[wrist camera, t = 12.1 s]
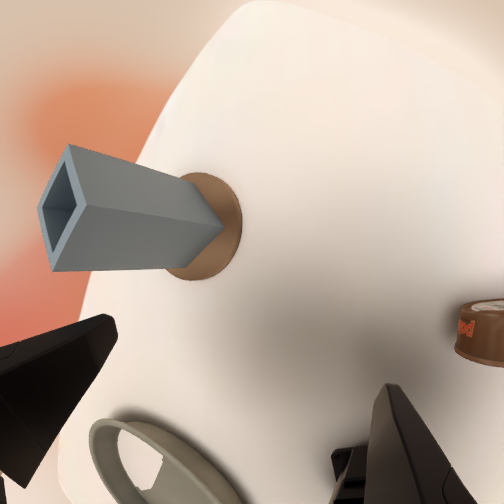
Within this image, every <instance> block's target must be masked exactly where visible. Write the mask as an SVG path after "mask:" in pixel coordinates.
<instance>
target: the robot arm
mask: <svg viewBox="0 0 504 504" xmlns="http://www.w3.org/2000/svg"><path fill="white" fill-rule="evenodd" d="M117 339H118V332H117V328H116V324H115V320H114V318H113V317H112V316H109V315H107V314H100V315H97V316H94V317H91V318H88V319H85V320H82V321H79V322H76V323H73V324H70V325H67V326H64V327H61V328H58V329H55V330H52V331H49V332H46V333H43V334H40V335H37V336H34V337H31V338H28V339H25V340H22V341H21V342H19V341H18V342H15V343H12V344H9V345H6V346H2V347H0V504H7V501H6V495H5V488H4V479H3V477H2V476H1V474H2V473H4V474H5V475H7V476H8V477H9V478H10V479H12V480H13V481H14V482H16V483H17V484H18V485H20V486H21V487H22V488H24V489H25V488H26V487H27V485H28V484H29V482H30V480H31V478H32V477H33V475H34V473H35V472H36V470H37V468H38V466H39V465H40V463H41V461H42V460H43V458H44V456H45V455H46V453H47V451H48V450H49V448H50V446H51V445H52V443H53V442H54V440H55V438H56V437H57V435H58V434H59V432H60V430H61V429H62V427H63V426H64V424H65V423H66V421H67V420H68V418H69V416H70V415H71V413H72V412H73V410H74V409H75V407H76V406H77V404H78V403H79V401H80V400H81V398H82V397H83V395H84V394H85V392H86V391H87V390H88V388H89V387H90V385H91V384H92V382H93V381H94V379H95V378H96V376H97V375H98V373H99V372H100V370H101V368H102V367H103V365H104V363H105V361H106V359H107V358H108V356H109V354H110V352H111V350H112V349H113V347H114V345H115V343H116V342H117ZM336 455H340V456H336ZM331 459H332V464H333V468H334V473H335V477H336V482H337V484H336V487H335V489H334V492H333V494H332V497H331V499H330V502H329V504H478V503H477V502H476V501H475V500H474V498H473V497H472V496H471V494H470V493H469V491H468V490H467V489H466V487H465V486H464V484H463V483H462V481H461V480H460V478H459V477H458V475H457V473H456V472H455V470H454V468H453V467H451V464H450V462H449V461H448V459H447V457H446V456H445V454H444V453H443V451H442V449H441V448H440V446H439V445H438V443H437V442H436V440H435V439H434V437H433V435H432V434H431V432H430V431H429V429H428V428H427V426H426V425H425V423H424V422H423V420H422V419H421V417H420V416H419V414H418V413H417V411H416V410H415V408H414V407H413V405H412V404H411V402H410V401H409V399H408V398H407V396H406V395H405V394H404V392H403V391H402V389H401V388H400V386H399V385H397V384H390V383H386V384H385V385H384V386H383V388H382V389H381V391H380V393H379V395H378V396H377V398H376V400H375V402H374V407H373V415H372V423H371V430H370V437H369V444H368V446H361V447H355V448H348V449H339V450H335V451H333V453H332V455H331Z"/></svg>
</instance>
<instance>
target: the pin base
mask: <svg viewBox="0 0 504 504" xmlns="http://www.w3.org/2000/svg"><path fill="white" fill-rule="evenodd" d="M180 179H183V180H186V181H189V182H192V183H194V184H195V185H196V187H197V188H198V189H199V191H200V192H201V194H202V195H203V196H204V198H205V199H206V201H207V202H208V204H209V205H210V206H211V208H212V209H213V211H214V212H215V213H216V215H217V216H218V218H219V219H220V220H221V222H222V223H223V225H224V226H225V229H224V230H223V231H222V232H221V233H220V234H219V235H218V236H217V237H216V238H215V239H214V240H213V241H212V242H211V243H210V244H209V245H208V246H207V247H206V248H205V249H204V250H203V251H202V252H201V253H200V254H199V255H198V256H197V257H196V258H195V259H194V260H193V261H192V262H191V263H190V264H189V265H188V266H187V267H186V268H171V269H166V270H167V271H168V272H169V273H171V274H172V275H174V276H175V277H178V278H180V279H183V280H190V281H191V280H202V279H206V278H209V277H212V276H214V275H215V274H217V273H219V272H220V271H221V270H222V269H224V268H225V266H226V265H227V264H228V263H229V262H230V260H231V259H232V257H233V256H234V254H235V252H236V250H237V247H238V245H239V241H240V237H241V231H242V215H241V210H240V206H239V203H238V200H237V198H236V196H235V194H234V192H233V191H232V189H231V188H230V187H229V186H228V185H227V184H226V183H225V182H223V181H222V180H220V179H219V178H217V177H214V176H212V175H209V174H206V173H190V174H187V175H184V176H182V177H180Z"/></svg>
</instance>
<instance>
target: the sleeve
mask: <svg viewBox="0 0 504 504" xmlns="http://www.w3.org/2000/svg"><path fill="white" fill-rule="evenodd" d="M37 210H38V215H39V220H40V225H41V230H42V234H43V239H44V243H45V247H46V251H47V255H48V259H49V262H50V266H51V269H52V272H65V271H108V270H141V269H171V268H186V267H187V266H188V265H189V264H190V263H191V262H192V261H193V260H194V259H195V258H196V257H197V256H198V255H199V254H200V253H201V252H202V251H203V250H204V249H205V248H206V247H207V246H208V245H209V244H210V243H211V242H212V241H213V240H214V239H215V238H216V237H217V236H218V235H219V234H220V233H221V232H222V231H223V230H224V229H225V226H224V225H223V223H222V222H221V220H220V219H219V218H218V216H217V215H216V213H215V212H214V211H213V209H212V208H211V206H210V205H209V204H208V202H207V201H206V199H205V198H204V196H203V195H202V194H201V192H200V191H199V189H198V188H197V187H196V185H195V184H194V183H192V182H189V181H186V180H183V179H180V178H177V177H174V176H171V175H168V174H165V173H162V172H159V171H156V170H153V169H150V168H147V167H144V166H141V165H138V164H134V163H131V162H128V161H125V160H122V159H118V158H115V157H112V156H109V155H105V154H102V153H99V152H95V151H92V150H88V149H85V148H82V147H78V146H74V145H71V144H68V145H67V147H66V149H65V151H64V152H63V154H62V156H61V158H60V160H59V162H58V164H57V166H56V168H55V170H54V172H53V174H52V176H51V178H50V180H49V182H48V184H47V186H46V188H45V191H44V193H43V195H42V198H41V200H40V202H39V204H38V207H37Z"/></svg>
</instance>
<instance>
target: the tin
mask: <svg viewBox="0 0 504 504" xmlns="http://www.w3.org/2000/svg"><path fill="white" fill-rule="evenodd" d="M454 349H455V351H456V353H457V354H459V355H460V356H462V357H463V358H465V359H468V360H470V361H473V362H476V363H480V364H483V365H488V366H494V367H503V368H504V299H494V300H484V301H476V302H471V303H467V304H465V305H464V306H462V308H461V310H460V316H459V324H458V336H457V342H456V344H455V346H454Z"/></svg>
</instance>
